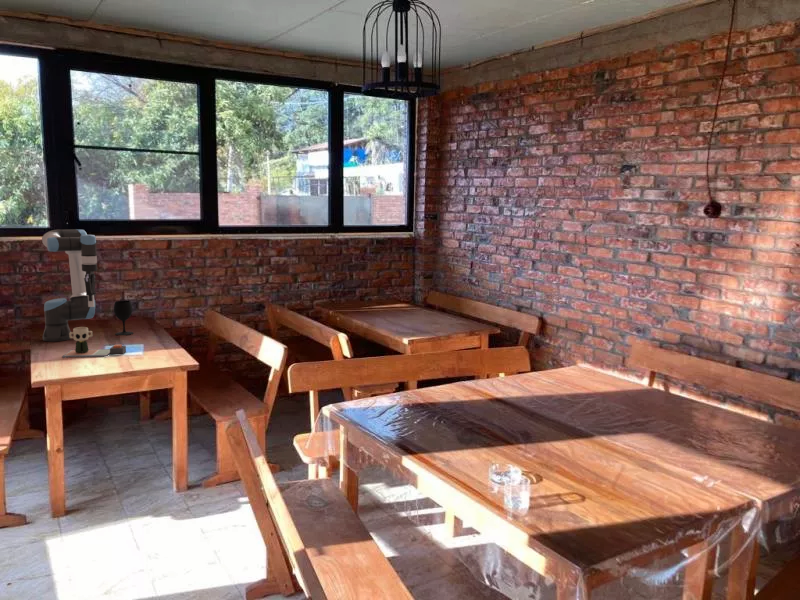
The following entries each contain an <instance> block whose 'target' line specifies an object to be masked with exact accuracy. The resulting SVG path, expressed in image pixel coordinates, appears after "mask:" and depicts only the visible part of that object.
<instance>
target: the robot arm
mask: <svg viewBox="0 0 800 600" xmlns="http://www.w3.org/2000/svg"><path fill="white" fill-rule="evenodd" d="M41 243H42V244H43V246H45V247H46V248H47V252H54V253H56V252H65V254H66V255H68V263H69V273H70V282H71V284H70V285H71V293H72V295H71V296H70V297H69V300H67V298H65V297H61V298H53V299H49V300H47V301H45V302H44V304H43V305H44V306H43V311H44V324H45V325H44V330H43V334H42V341H44V342H62V341H68V340H71V339H72V338H70V336H69V333H70V332H72V331H71V329H70V326H69V321H77V320H89V319H93V318H94V317H95V313H96V300H95V295H96V274H95V272H97V271H98V264H97V263H98V256H97V239H96V235H95V234H87V232H86V231H85V229H77V228H75V229H73V228H72V229H71V228H70V229H53V230H50V231H47V232H45V233H44V234H43V235H42V237H41ZM71 335H72V336H73V334H71Z"/></svg>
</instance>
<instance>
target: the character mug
mask: <svg viewBox="0 0 800 600" xmlns="http://www.w3.org/2000/svg"><path fill="white" fill-rule="evenodd" d="M71 334H72V335H71ZM69 336H70V338H71V339H73V340H74V341H76V343H75V349H74V350H75V351H76V352H77V353H81V351H83V352H87V351H88V350H89V346H88V345H89V344H88V341H87V340H89V338H92V337H93V331H92V330H89V328H88V327H86V326H79V327H74V328H73V329H72V331H71V332H70V333H69Z"/></svg>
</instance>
